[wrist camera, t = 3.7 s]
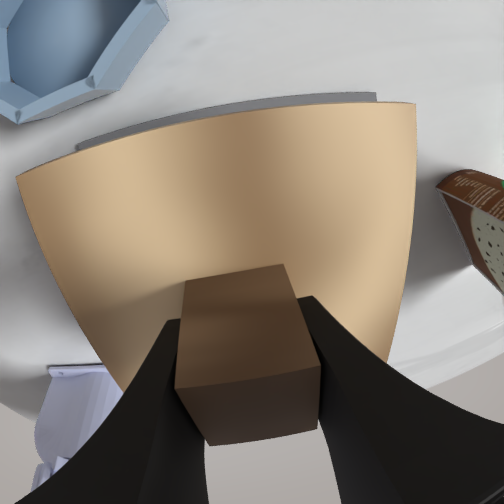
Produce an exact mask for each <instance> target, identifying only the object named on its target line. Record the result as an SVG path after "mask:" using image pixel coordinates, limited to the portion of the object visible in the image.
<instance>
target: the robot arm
mask: <svg viewBox="0 0 504 504" xmlns="http://www.w3.org/2000/svg"><path fill="white" fill-rule="evenodd" d="M297 301H298V304H299V306H300V309H301V312H302V315H303V317H304V320H305V323H306V325H307V328H308V331H309V334H310V336H311V339H312V342H313V345H314V347H315V350H316V353H317V356H318V359H319V361H320V364H321V375H320V395H319V411H318V419H319V422H320V425H321V427H322V430H323V433H324V435H325V438H326V442H327V444H328V448H329V452H330V456H331V460H332V464H333V468H334V472H335V477H336V481H337V485H338V490H339V494H340V499H341V504H504V424H501V423H498V422H494V421H491V420H488V419H485V418H482V417H480V416H478V415H475V414H473V413H470V412H468V411H466V410H464V409H461V408H460V407H458V406H455V405H454V404H452V403H450V402H448V401H446V400H444V399H442V398H440V397H438V396H436V395H434V394H432V393H430V392H429V391H427V390H425V389H424V388H422V387H421V386H419V385H417V384H416V383H414V382H412V381H411V380H409V379H408V378H406V377H405V376H404V375H402V374H401V373H399V372H398V371H396V370H395V369H394V368H392V367H391V366H389V365H388V364H387V363H385V362H384V361H383V360H382V359H380V358H379V357H378V356H377V355H375V354H374V353H373V352H372V351H370V350H369V349H368V348H367V347H366V346H365V345H363V344H362V343H361V342H360V341H359V340H358V339H357V338H356V337H354V336H353V335H352V334H351V333H350V332H349V331H348V330H347V329H346V328H345V327H344V326H343V325H341V324H340V323H339V322H338V321H337V320H336V319H335V318H334V317H333V316H332V315H331V314H330V313H329V312H328V310H327V309H326V308H325V307H324V306H323V305H322V304H321V303H320V302H319V301H318V300H317V299H316V298H315V297H314V296H312V295H311V296H306V297H301V298H297ZM180 322H181V318H178V319H170V320H167V321H166V323H165V324H164V326H163V328H162V330H161V331H160V333H159V335H158V337H157V339H156V340H155V342H154V344H153V346H152V348H151V349H150V351H149V353H148V355H147V356H146V358H145V360H144V361H143V363H142V365H141V366H140V368H139V370H138V371H137V373H136V375H135V376H134V378H133V380H132V381H131V383H130V384H129V386H128V387H127V389H126V390H125V392H124V393H123V392H122V390H121V389H120V387H119V386H118V385H117V383H116V382H115V380H114V379H113V378H112V376H111V375H110V373H109V372H108V370H107V369H106V367H105V366H104V365H91V366H64V367H49V370H48V372H49V374H50V375H51V376H52V377H53V378H52V380H51V383H50V385H49V388H48V391H47V393H46V396H45V399H44V401H43V404H42V407H41V410H40V413H39V416H38V419H37V422H36V426H35V435H34V436H35V445H36V449H37V452H38V454H39V456H40V458H41V459H42V461H43V462H44V463H42V464H39V465H38V466H37V468H36V471H35V475H34V479H33V483H32V488H31V492H30V493H29V494H28V495H26V496H25V497H24V498H22V499H21V500H19V501H18V502H16V503H15V504H209V501H208V493H207V485H206V475H205V464H204V443H205V438H204V437H203V435H202V434H201V432H200V431H199V429H198V427H197V426H196V424H195V423H194V421H193V419H192V418H191V416H190V414H189V413H188V411H187V409H186V408H185V406H184V404H183V403H182V401H181V399H180V397H179V396H178V394H177V392H176V390H175V375H176V363H177V352H178V342H179V332H180Z"/></svg>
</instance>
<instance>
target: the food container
mask: <svg viewBox="0 0 504 504" xmlns="http://www.w3.org/2000/svg"><path fill="white" fill-rule="evenodd" d="M435 188H436V190H437V191H438V193H439V195H440V197H441V199H442V201H443V203H444V204H445V206H446V208H447V210H448V212H449V214H450V216H451V218H452V220H453V222H454V225H455V227H456V229H457V231H458V233H459V235H460V237H461V240H462V242H463V244H464V246H465V249H466V251H467V253H468V256H469V258H470V261H471V263H472V265H473V266H474V267H475V268H476V269H477V270H478V271H479V272H480V273H481V274H482V275H483V276H484V277H485V278H487V279H488V280H489V281H490V282H491V283H492V284H493V285H494V286H495V287H496V289H497V290H498V291H499V292H500V293H501V294H502V295H503V296H504V180H502V179H500V178H497V177H494V176H491V175H488V174H485V173H482V172H479V171H476V170H472V169H467V170H461V171H457V172H455V173H453V174H451V175H449V176H448V177H447V178H445V179H444V180H442V181H441V182H440V183H439V184H438V185H437V186H436V187H435Z"/></svg>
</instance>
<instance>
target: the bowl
mask: <svg viewBox="0 0 504 504" xmlns="http://www.w3.org/2000/svg"><path fill="white" fill-rule="evenodd" d="M168 21H169V18H168V12H167V5H166V0H0V114H2V115H3V116H5V117H7V118H8V119H10V120H11V121H13V122H15V123H16V124H22V123H26V122H30V121H34V120H39V119H43V118H48V117H51V116H53V115H55V114H58V113H60V112H62V111H65V110H67V109H69V108H72V107H74V106H77V105H79V104H82V103H84V102H87V101H90V100H92V99H95V98H98V97H101V96H103V95H106V94H109V93H112V92H115V91H119V90H120V88H121V87H122V85H123V84H124V82H125V81H126V79H127V77H128V76H129V74H130V73H131V71H132V70H133V68H134V67H135V65H136V64H137V63H138V61H139V60H140V58H141V57H142V55H143V54H144V53H145V51H146V50H147V49H148V47H149V46H150V44H151V43H152V42H153V40H154V39H155V38H156V36H157V35H158V34H159V33H160V31H161V30H162V29H163V28H164V26H165V25H166V24H167V23H168ZM9 24H10V25H9ZM8 26H9V29H8V33H7V27H8ZM10 75H11V77H12V79H13V81H14V82H15V83H13V82H11V79H10Z"/></svg>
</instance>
